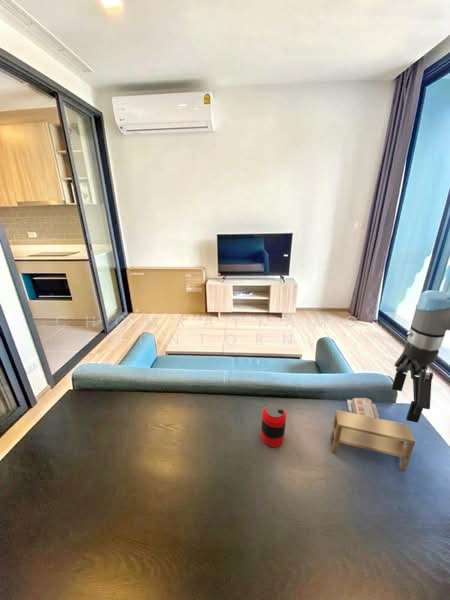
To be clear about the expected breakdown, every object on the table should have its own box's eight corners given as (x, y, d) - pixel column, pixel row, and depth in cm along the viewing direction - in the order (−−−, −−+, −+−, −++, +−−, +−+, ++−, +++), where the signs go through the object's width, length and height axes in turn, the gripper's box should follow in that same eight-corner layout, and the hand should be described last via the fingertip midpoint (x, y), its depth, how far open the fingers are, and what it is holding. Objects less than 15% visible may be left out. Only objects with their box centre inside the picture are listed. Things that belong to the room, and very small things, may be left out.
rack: (398, 453, 79) (407, 424, 75) (404, 471, 74) (415, 441, 69) (330, 437, 85) (336, 409, 80) (332, 453, 79) (338, 424, 75)
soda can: (282, 450, 80) (285, 422, 76) (258, 443, 82) (260, 415, 78) (284, 431, 87) (287, 404, 82) (263, 426, 89) (265, 399, 85)
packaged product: (389, 435, 80) (354, 427, 83) (385, 446, 81) (352, 438, 84) (377, 397, 95) (348, 391, 99) (374, 407, 97) (346, 401, 100)
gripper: (393, 324, 83) (379, 377, 90) (425, 367, 60) (403, 433, 68) (420, 327, 81) (403, 381, 88) (463, 373, 58) (436, 440, 66)
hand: (403, 404), depth 78 cm, fingers open, 13 cm apart
